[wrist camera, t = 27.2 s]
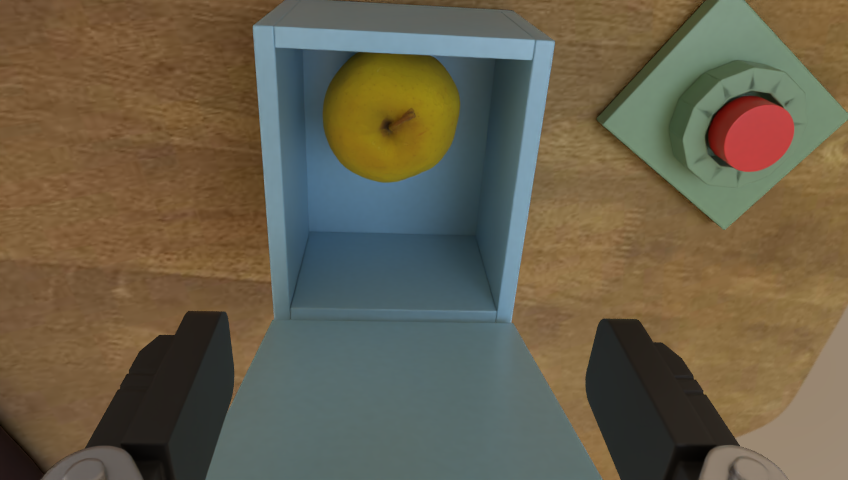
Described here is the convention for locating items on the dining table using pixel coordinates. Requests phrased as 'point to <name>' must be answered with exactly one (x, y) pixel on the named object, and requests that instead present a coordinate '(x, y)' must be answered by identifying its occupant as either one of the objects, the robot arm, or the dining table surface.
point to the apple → (390, 114)
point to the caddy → (410, 198)
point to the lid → (396, 407)
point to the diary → (16, 461)
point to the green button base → (718, 106)
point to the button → (751, 133)
